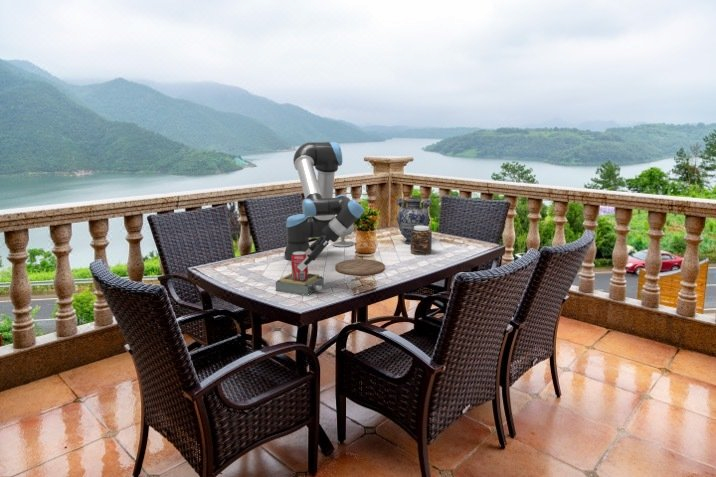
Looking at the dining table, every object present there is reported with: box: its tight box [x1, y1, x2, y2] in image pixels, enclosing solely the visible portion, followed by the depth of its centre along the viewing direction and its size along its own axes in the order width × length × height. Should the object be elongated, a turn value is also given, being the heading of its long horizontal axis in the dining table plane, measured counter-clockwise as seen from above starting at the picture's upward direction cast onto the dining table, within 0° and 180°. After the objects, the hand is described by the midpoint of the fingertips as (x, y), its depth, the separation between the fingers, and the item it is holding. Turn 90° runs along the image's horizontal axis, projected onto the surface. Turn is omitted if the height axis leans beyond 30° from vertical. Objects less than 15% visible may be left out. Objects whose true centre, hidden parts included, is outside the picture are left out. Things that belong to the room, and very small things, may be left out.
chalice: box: [332, 223, 355, 248], centre depth 287 cm, size 14×14×15 cm
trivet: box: [334, 258, 386, 277], centre depth 238 cm, size 25×25×2 cm
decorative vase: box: [396, 196, 433, 245], centre depth 290 cm, size 21×19×28 cm
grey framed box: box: [275, 272, 325, 296], centre depth 207 cm, size 20×14×5 cm
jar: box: [409, 225, 433, 256], centre depth 267 cm, size 12×12×15 cm
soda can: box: [290, 251, 309, 281], centre depth 206 cm, size 7×7×12 cm
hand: (300, 264), depth 206 cm, fingers open, 13 cm apart
